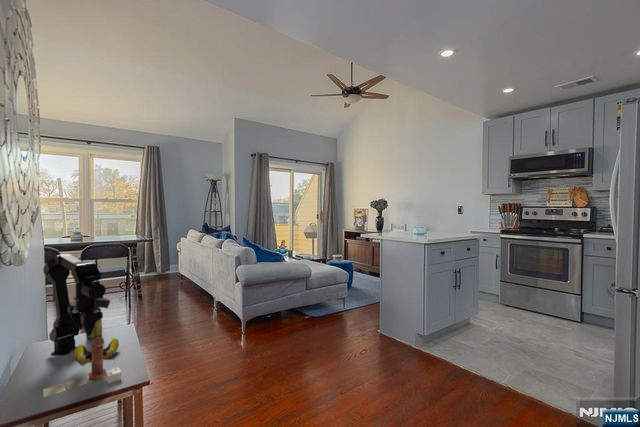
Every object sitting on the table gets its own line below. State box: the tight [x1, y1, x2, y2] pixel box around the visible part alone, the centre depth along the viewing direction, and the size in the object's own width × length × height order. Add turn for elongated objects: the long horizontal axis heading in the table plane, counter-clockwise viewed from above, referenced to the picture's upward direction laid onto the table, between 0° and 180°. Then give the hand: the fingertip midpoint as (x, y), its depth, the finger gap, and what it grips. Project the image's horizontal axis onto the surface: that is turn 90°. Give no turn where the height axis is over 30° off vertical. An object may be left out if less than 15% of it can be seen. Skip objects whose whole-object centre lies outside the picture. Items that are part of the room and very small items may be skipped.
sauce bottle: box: [85, 307, 103, 341], centre depth 144 cm, size 6×6×20 cm
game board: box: [42, 374, 106, 398], centre depth 110 cm, size 19×12×1 cm, turn 135°
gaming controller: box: [74, 337, 120, 363], centre depth 128 cm, size 15×6×10 cm
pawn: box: [88, 337, 107, 381], centre depth 112 cm, size 5×5×15 cm
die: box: [105, 367, 122, 385], centre depth 111 cm, size 4×4×4 cm
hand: (84, 332), depth 122 cm, fingers open, 9 cm apart
